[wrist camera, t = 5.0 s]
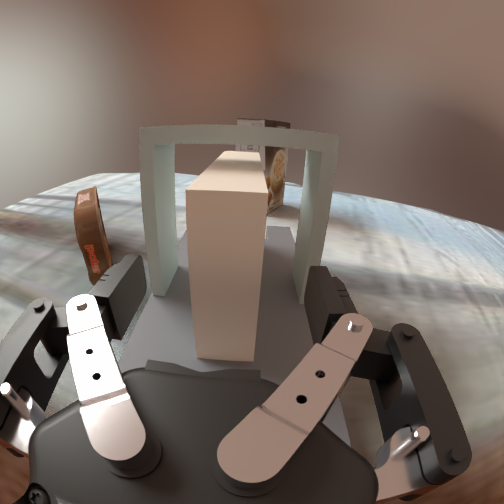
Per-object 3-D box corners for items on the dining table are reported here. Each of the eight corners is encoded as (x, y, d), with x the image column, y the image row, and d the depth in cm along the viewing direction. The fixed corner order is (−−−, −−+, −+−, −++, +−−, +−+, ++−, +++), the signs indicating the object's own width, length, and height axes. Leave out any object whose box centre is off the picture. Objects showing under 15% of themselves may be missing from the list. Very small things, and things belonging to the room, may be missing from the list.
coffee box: (265, 216, 45) (272, 119, 38) (231, 209, 47) (235, 117, 40) (283, 204, 52) (291, 122, 45) (254, 198, 55) (259, 120, 48)
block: (196, 357, 15) (185, 189, 11) (222, 240, 30) (225, 150, 26) (253, 361, 15) (268, 193, 11) (253, 242, 31) (258, 152, 26)
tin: (120, 296, 23) (105, 210, 19) (90, 303, 22) (69, 217, 18) (106, 238, 34) (99, 179, 31) (86, 242, 33) (77, 184, 29)
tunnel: (152, 295, 21) (139, 127, 15) (168, 264, 25) (163, 126, 19) (311, 304, 21) (339, 135, 15) (302, 272, 25) (320, 132, 20)
